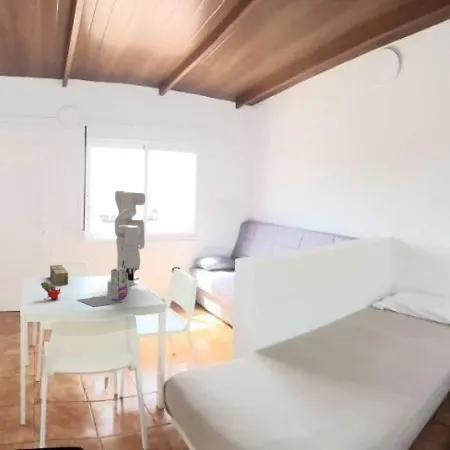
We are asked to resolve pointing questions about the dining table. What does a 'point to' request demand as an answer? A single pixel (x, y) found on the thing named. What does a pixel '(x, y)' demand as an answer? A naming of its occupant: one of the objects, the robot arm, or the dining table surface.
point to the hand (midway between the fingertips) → (130, 280)
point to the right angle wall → (110, 287)
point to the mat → (99, 301)
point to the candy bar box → (118, 283)
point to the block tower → (58, 274)
